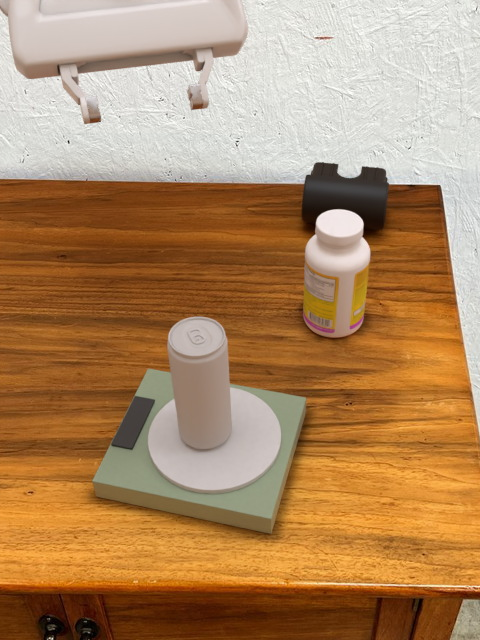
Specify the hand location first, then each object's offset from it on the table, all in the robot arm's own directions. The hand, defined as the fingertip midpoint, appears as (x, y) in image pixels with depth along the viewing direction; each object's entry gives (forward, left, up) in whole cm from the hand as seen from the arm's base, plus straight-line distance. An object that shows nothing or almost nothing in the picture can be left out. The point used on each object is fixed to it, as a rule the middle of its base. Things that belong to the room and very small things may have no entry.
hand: (147, 114), depth 68 cm
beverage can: (+9, -17, -21) cm, 29 cm away
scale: (+9, -17, -24) cm, 31 cm away
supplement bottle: (+17, +4, -24) cm, 30 cm away
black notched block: (+15, +22, -24) cm, 36 cm away
